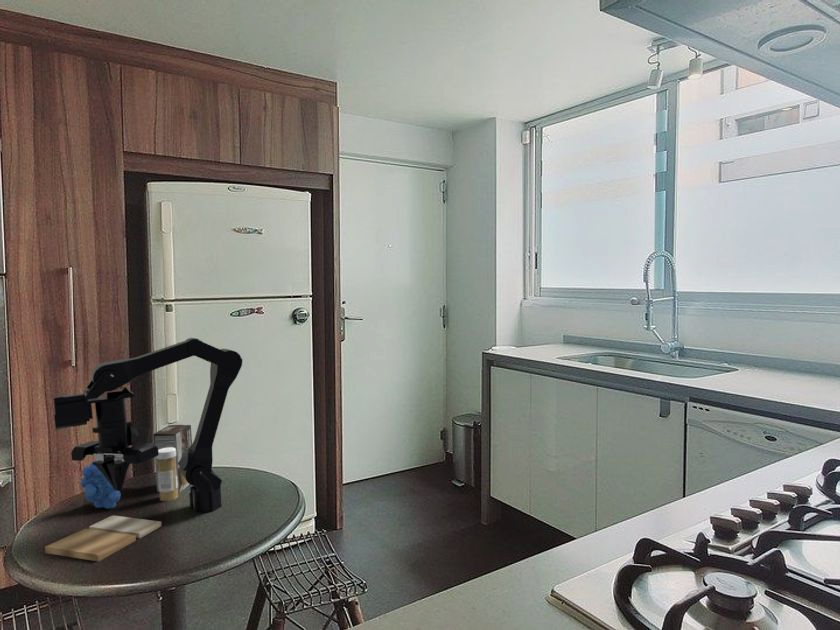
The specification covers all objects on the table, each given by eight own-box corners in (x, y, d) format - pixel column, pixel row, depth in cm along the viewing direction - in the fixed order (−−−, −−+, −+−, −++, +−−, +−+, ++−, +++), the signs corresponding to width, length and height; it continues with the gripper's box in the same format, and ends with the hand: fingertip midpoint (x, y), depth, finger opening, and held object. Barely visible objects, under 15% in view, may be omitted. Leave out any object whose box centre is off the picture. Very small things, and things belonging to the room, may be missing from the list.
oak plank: (136, 544, 114) (135, 535, 114) (98, 565, 105) (98, 554, 105) (85, 537, 118) (85, 528, 118) (45, 556, 109) (45, 546, 109)
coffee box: (172, 481, 152) (169, 424, 151) (195, 480, 152) (192, 423, 151) (155, 493, 143) (152, 433, 142) (179, 493, 143) (176, 432, 142)
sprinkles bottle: (182, 498, 139) (179, 446, 138) (171, 505, 134) (168, 452, 134) (166, 498, 140) (163, 446, 139) (155, 505, 135) (151, 451, 135)
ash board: (161, 530, 120) (161, 521, 120) (139, 542, 115) (139, 533, 114) (112, 524, 125) (112, 515, 125) (89, 535, 119) (89, 526, 119)
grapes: (68, 514, 131) (64, 465, 131) (93, 503, 138) (90, 457, 137) (104, 519, 127) (101, 469, 127) (128, 508, 134) (125, 460, 133)
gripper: (173, 411, 123) (179, 478, 124) (109, 410, 129) (115, 474, 130) (134, 425, 112) (141, 498, 113) (66, 423, 118) (73, 493, 119)
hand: (118, 490), depth 119 cm, fingers closed
